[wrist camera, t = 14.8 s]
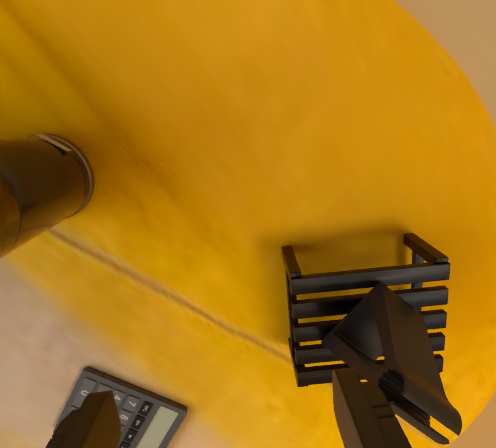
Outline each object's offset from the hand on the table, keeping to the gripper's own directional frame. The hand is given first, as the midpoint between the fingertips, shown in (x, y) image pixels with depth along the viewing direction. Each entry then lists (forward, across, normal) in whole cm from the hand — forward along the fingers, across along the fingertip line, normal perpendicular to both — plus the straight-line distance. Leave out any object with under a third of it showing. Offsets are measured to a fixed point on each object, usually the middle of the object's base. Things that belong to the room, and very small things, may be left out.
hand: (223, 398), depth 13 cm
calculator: (+30, +19, +29) cm, 46 cm away
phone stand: (+22, -13, +13) cm, 29 cm away
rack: (+30, -13, +13) cm, 35 cm away
